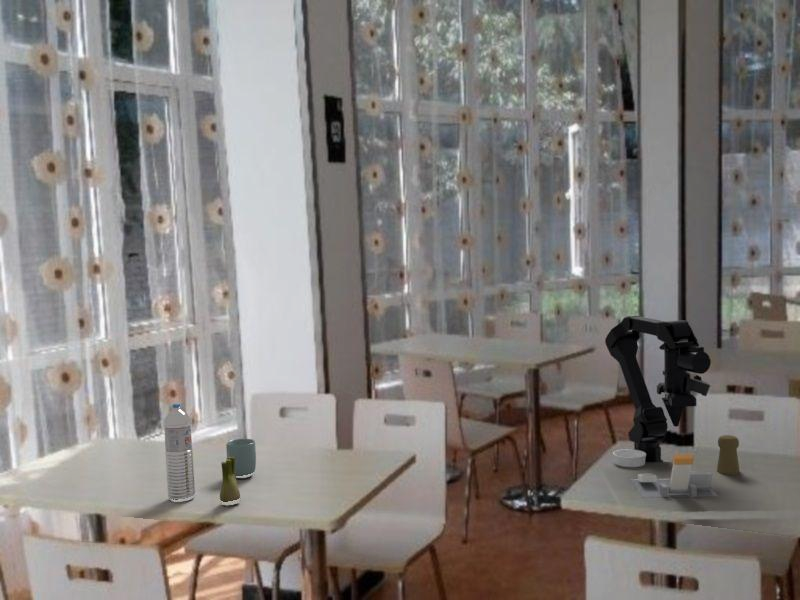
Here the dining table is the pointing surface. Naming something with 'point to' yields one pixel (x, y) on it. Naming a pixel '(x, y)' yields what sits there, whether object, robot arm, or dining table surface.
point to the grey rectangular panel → (701, 479)
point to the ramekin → (629, 458)
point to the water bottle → (179, 454)
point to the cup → (242, 455)
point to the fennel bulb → (229, 481)
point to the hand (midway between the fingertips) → (675, 426)
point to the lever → (680, 473)
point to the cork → (728, 455)
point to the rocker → (647, 477)
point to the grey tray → (662, 489)
